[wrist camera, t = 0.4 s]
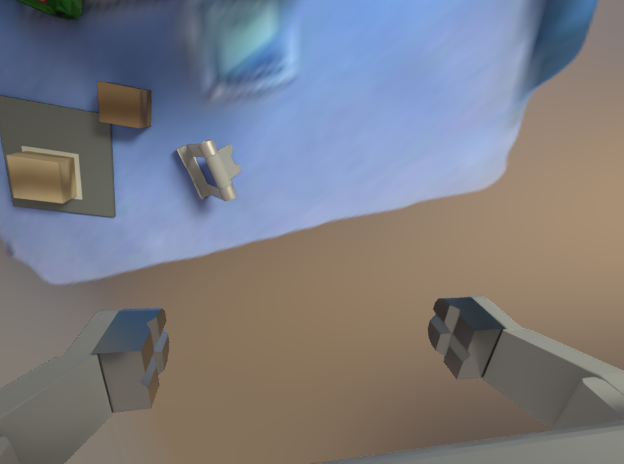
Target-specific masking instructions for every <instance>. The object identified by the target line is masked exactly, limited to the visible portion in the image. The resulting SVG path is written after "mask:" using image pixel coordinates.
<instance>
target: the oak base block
mask: <svg viewBox="0 0 624 464" xmlns="http://www.w3.org/2000/svg"><path fill="white" fill-rule="evenodd" d="M6 156H7V161H8V167H9V173H10V179H11V184H12V190H13V196H14V198H21V199H29V200H38V201H46V202H55V203H65V202H66V201H68V200H70V199H72V198H74V197H76V196H78V195H77V185H76V174H75V163H74V158H73V157H66V156H60V155H53V154H46V153H39V152H32V151H23V152H19V153H14V154H9V155H6Z"/></svg>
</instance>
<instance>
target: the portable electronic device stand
mask: <svg viewBox="0 0 624 464" xmlns="http://www.w3.org/2000/svg"><path fill="white" fill-rule="evenodd" d="M177 151H178V153H179V155H180V158H181V160H182V162H183V164H184V166H185V168H187V170H188V172H189V174H190V176H191V178H192V180H193V184H194V186H195V188H196V190H197V192H198V194H199V196H200V198H201V200H202V199H204V198H205V197H207V196H209V195H213V196H215V197H217V198H219V199H222V200H224V201H229V200H232V199H234V198H235V197H237V193H236V191H235V188H234V186H233V184H232V181H231V179H232V178H233V177H234V176H236V175H237V174H238V173H240V172H241V168H240V166H239V163H238V164H234V162H233V159H232V157H231V154H232V153H233V152H234V151H233V149H232V146H231V145H230V144H228V145H226V146H225V147H223V148H221V149H219V150H218V149H217V147H216V144H215V142H214V140H213V139H210V140H207V141H204V142H202V143H199V144H188V145H185V146H182V147H179V148H177ZM195 157H203V158H205V160H206V162H207V164H208V167H209V169H210V171H211V173H212V175H213V177H214V180H215V182H216V184H217V186H218V187H215V186H213V185H210V184H207V182H206V180H205V178H204V175H203V173H202V171H201V169H200V167H199V165H198V163H197V161H196V159H195Z"/></svg>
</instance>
